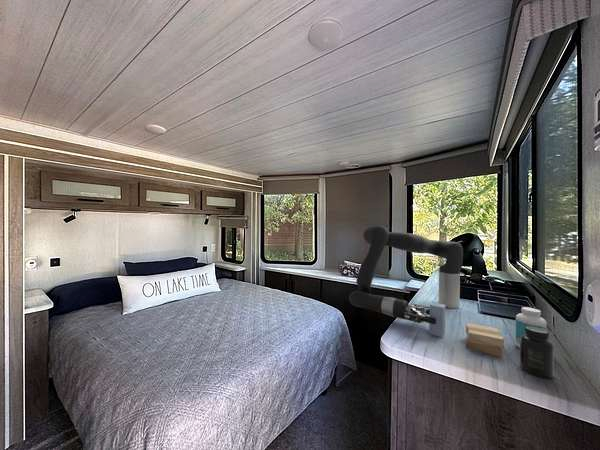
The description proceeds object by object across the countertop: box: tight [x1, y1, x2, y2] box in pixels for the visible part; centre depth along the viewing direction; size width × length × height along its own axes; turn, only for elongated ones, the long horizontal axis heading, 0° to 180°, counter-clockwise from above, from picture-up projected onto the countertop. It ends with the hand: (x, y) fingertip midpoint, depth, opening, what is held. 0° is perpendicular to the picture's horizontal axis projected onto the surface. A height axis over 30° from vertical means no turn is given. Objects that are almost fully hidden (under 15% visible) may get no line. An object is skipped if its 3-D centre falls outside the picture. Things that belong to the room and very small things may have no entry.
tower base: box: [465, 335, 502, 358], centre depth 80 cm, size 9×9×3 cm
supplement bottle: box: [519, 326, 555, 379], centre depth 67 cm, size 7×7×12 cm
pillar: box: [428, 301, 447, 339], centre depth 89 cm, size 4×4×11 cm
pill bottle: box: [514, 306, 548, 349], centre depth 79 cm, size 8×7×14 cm
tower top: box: [465, 322, 505, 350], centre depth 80 cm, size 9×9×3 cm
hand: (438, 318), depth 89 cm, fingers open, 8 cm apart
